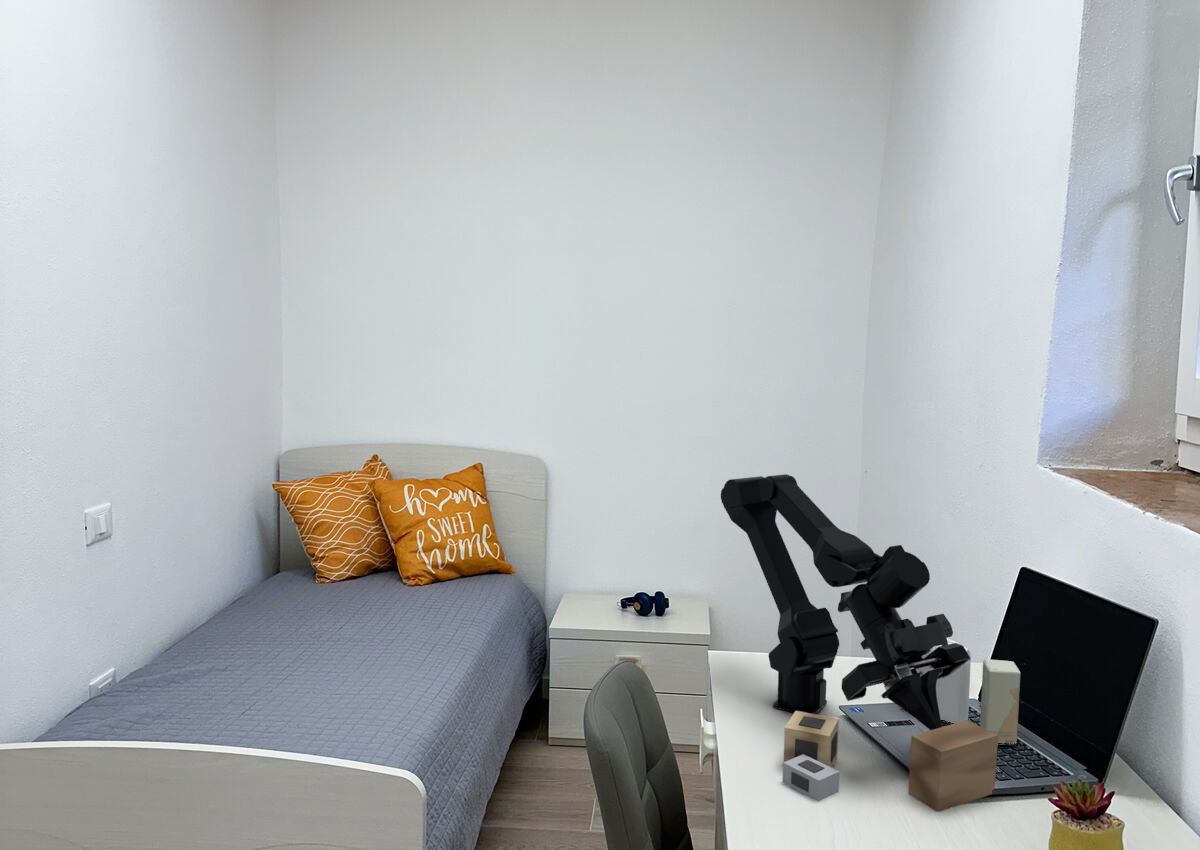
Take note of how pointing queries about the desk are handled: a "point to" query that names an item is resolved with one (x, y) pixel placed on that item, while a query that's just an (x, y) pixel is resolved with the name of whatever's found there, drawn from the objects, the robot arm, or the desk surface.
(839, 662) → the desk surface
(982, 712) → the box
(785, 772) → the grey block
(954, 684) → the photo printer
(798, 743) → the oak cube
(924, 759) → the walnut block
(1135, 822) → the desk surface
